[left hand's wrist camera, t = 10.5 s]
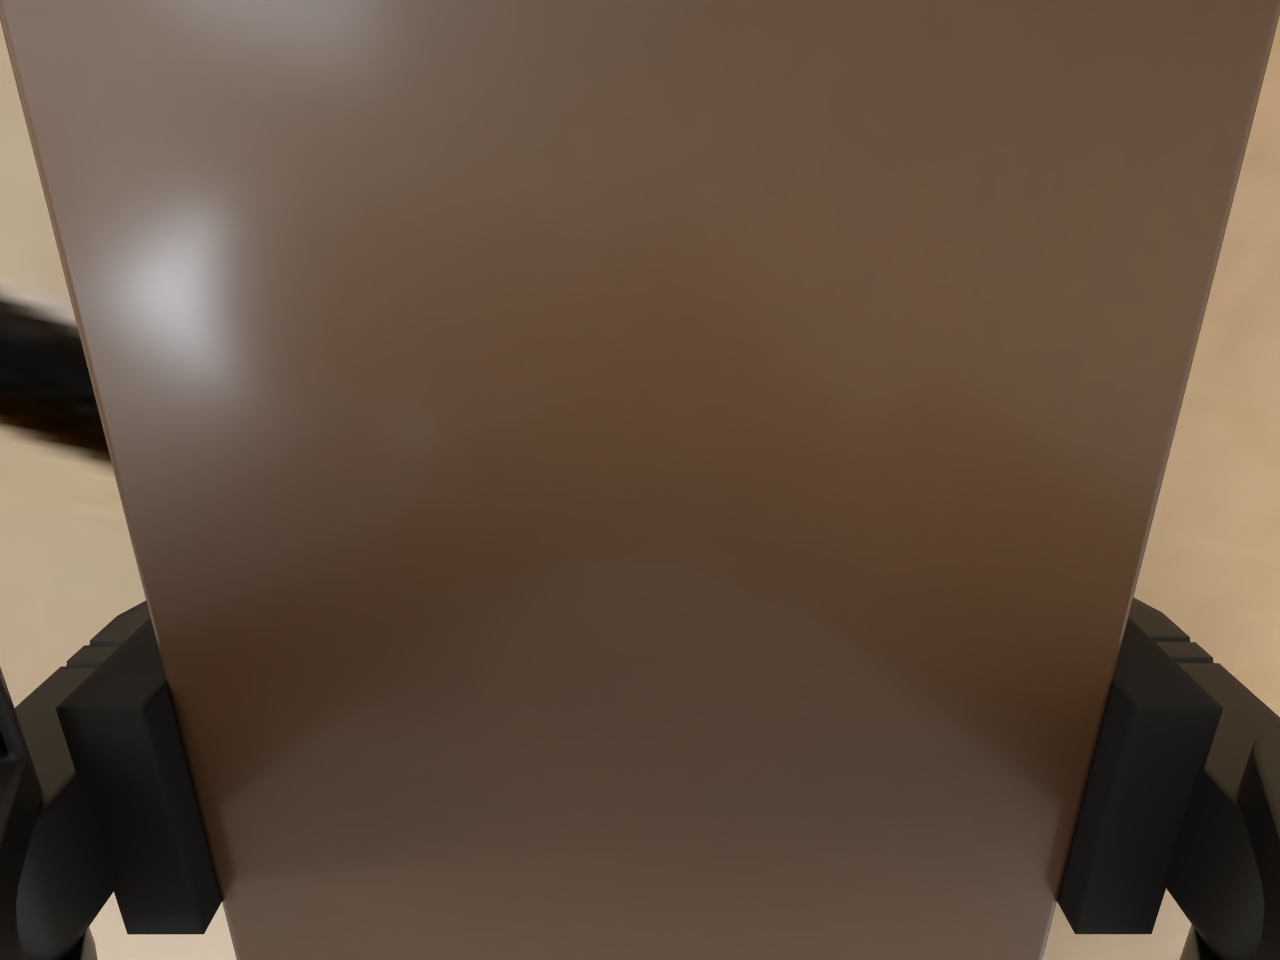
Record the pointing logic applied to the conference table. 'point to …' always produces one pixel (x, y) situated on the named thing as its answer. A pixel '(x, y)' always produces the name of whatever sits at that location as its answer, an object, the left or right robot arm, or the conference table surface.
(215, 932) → the conference table surface
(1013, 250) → the thick board
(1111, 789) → the left robot arm
